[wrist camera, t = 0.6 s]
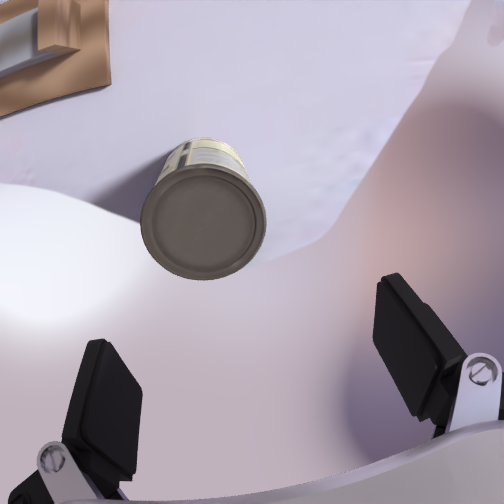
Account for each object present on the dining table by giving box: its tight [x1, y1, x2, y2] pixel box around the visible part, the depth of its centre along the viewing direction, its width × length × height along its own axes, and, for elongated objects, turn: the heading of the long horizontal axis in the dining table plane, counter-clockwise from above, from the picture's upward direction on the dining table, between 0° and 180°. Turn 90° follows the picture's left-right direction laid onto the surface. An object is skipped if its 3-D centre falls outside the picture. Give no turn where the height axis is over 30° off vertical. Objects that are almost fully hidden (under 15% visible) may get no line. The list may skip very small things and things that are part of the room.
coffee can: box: [140, 138, 266, 280], centre depth 32 cm, size 10×10×14 cm
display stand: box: [0, 0, 111, 117], centre depth 22 cm, size 16×20×8 cm
